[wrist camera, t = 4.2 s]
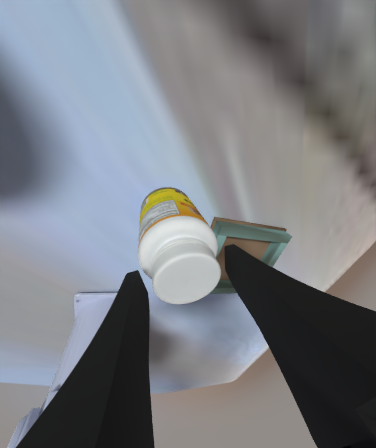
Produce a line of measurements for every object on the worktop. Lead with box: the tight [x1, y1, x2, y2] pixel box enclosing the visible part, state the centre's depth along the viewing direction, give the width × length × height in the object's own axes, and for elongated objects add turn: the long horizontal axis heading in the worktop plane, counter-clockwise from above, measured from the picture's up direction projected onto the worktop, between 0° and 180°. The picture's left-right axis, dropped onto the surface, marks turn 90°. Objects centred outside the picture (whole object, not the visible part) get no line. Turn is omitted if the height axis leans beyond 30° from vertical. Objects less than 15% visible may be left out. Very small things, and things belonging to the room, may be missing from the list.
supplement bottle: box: [138, 187, 221, 304], centre depth 13 cm, size 6×6×10 cm
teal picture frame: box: [209, 217, 292, 294], centre depth 23 cm, size 12×12×2 cm
